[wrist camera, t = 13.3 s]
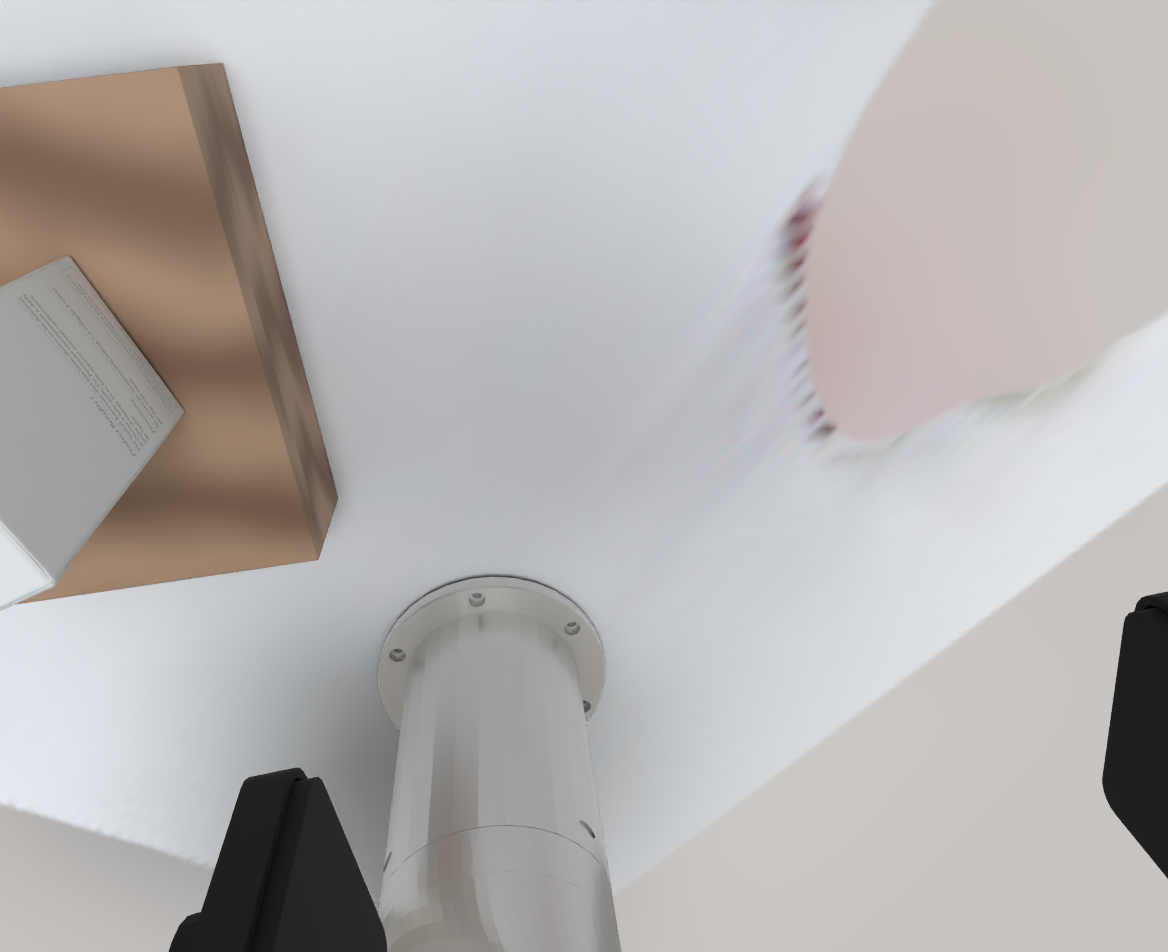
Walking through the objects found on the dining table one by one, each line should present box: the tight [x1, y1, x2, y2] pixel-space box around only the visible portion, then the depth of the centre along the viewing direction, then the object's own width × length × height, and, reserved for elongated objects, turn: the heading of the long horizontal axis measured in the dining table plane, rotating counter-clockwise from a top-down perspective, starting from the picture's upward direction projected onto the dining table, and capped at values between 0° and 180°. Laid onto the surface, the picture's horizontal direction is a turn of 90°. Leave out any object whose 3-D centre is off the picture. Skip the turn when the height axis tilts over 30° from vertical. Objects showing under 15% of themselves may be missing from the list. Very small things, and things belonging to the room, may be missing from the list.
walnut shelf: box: [0, 63, 338, 604], centre depth 37 cm, size 20×16×6 cm
